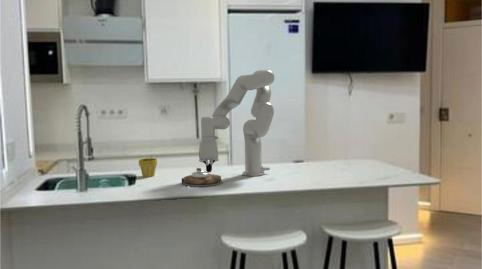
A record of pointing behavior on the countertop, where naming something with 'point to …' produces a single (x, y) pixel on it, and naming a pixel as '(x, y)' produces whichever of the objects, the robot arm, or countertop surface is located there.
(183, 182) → the turntable base
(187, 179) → the turntable
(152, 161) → the plant pot
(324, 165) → the countertop surface
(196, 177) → the cover
